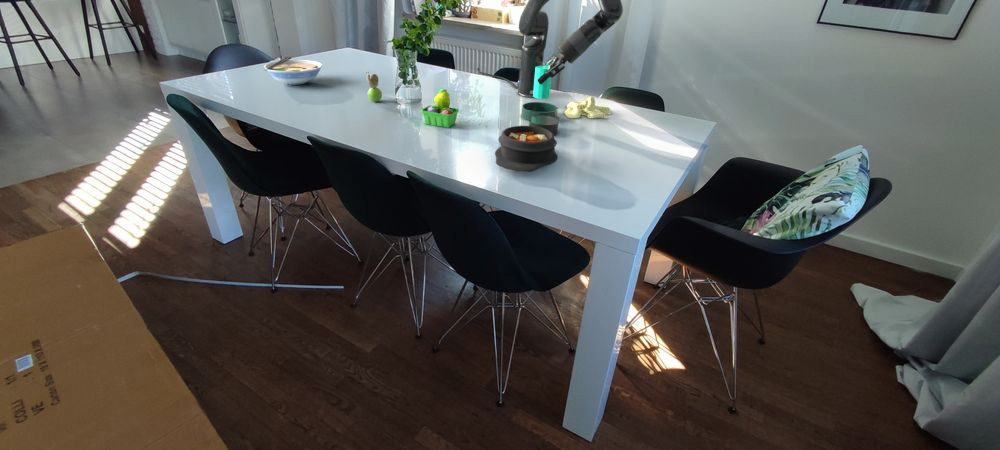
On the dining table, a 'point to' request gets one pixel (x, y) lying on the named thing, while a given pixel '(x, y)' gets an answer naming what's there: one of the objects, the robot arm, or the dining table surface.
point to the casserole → (526, 148)
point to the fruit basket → (440, 111)
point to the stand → (545, 123)
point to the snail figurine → (373, 88)
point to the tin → (538, 110)
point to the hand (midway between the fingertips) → (537, 80)
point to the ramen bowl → (293, 70)
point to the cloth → (586, 109)
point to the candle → (541, 89)
